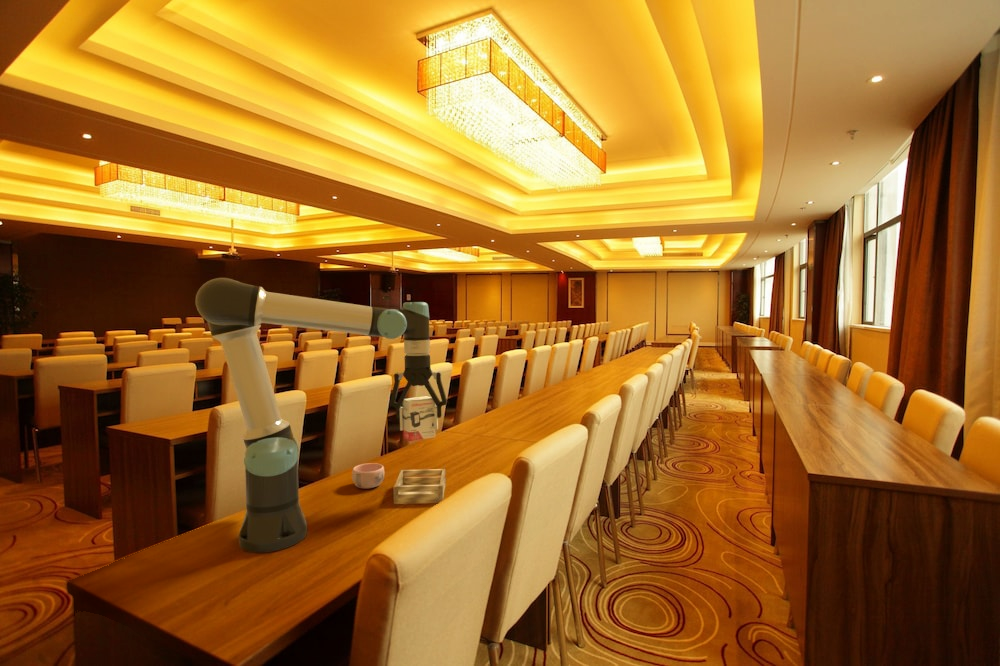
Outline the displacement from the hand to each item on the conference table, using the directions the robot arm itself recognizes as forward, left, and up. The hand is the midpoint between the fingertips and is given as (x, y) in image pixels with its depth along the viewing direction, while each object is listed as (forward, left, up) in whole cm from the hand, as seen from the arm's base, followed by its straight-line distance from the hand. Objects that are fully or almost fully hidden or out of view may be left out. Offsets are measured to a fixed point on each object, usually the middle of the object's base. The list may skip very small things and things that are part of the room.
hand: (419, 428), depth 147 cm
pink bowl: (-17, +10, -20) cm, 29 cm away
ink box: (0, 0, -3) cm, 3 cm away
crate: (0, +1, -20) cm, 20 cm away
